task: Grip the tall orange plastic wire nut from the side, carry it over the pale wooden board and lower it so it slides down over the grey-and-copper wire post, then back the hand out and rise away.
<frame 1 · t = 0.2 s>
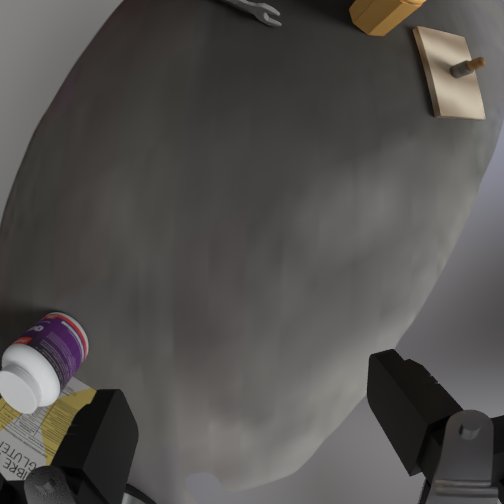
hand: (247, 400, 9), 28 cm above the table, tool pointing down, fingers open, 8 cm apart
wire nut: (370, 18, 32), on the table
pill bottle: (66, 336, 38), on the table
pasta box: (57, 409, 40), on the table
post board: (449, 74, 35), on the table
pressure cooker: (110, 501, 45), on the table
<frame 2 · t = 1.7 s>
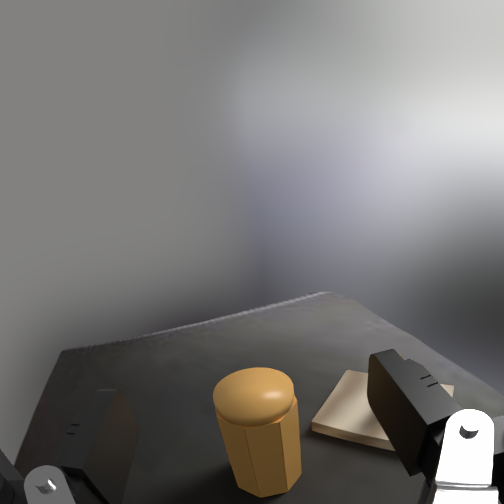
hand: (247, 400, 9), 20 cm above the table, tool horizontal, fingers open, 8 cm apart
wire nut: (267, 471, 25), on the table
post board: (387, 414, 29), on the table
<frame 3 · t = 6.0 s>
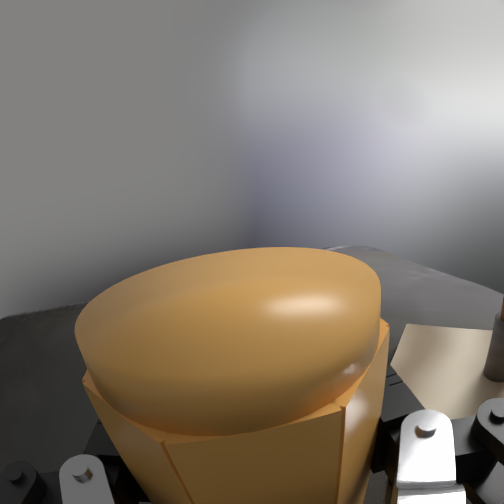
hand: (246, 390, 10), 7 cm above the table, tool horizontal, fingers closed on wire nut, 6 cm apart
post board: (491, 391, 13), on the table
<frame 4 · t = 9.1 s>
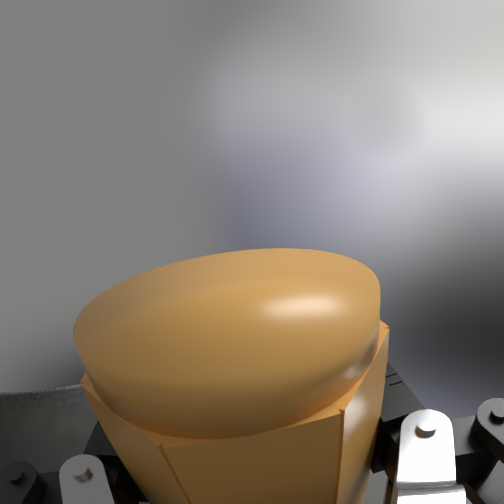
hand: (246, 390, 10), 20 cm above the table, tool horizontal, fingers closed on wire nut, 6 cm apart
when the fingers open (9 cm above the table, at t = 12.5 s): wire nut drops 1 cm, resting on post board.
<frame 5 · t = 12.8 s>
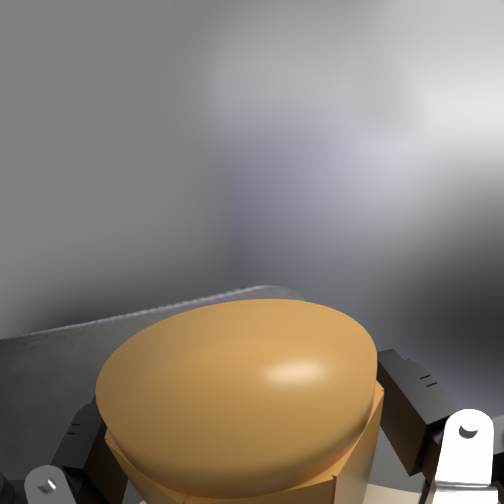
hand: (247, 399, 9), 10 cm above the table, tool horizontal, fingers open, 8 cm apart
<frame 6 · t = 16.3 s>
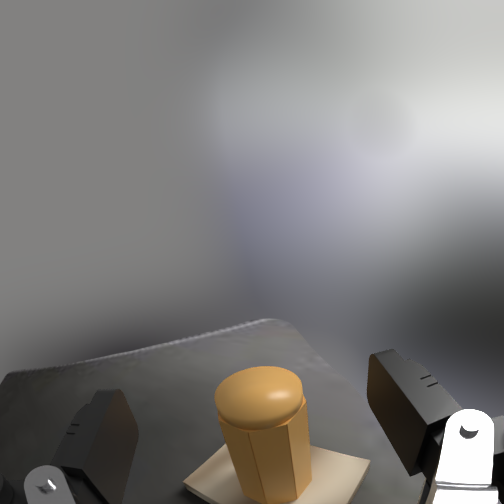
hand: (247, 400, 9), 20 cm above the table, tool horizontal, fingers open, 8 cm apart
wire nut: (275, 478, 23), point 1 cm above the table, touching post board
post board: (277, 485, 23), on the table
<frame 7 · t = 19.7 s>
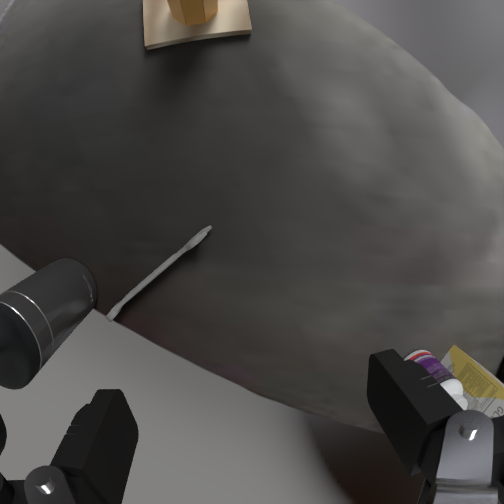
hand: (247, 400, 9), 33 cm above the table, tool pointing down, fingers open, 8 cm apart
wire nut: (194, 7, 32), point 1 cm above the table, touching post board
combination wrench: (157, 272, 42), on the table
pill bottle: (412, 366, 50), on the table
pasta box: (457, 378, 52), on the table
post board: (195, 11, 34), on the table
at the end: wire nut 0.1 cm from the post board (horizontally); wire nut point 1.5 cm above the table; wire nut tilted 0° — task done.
